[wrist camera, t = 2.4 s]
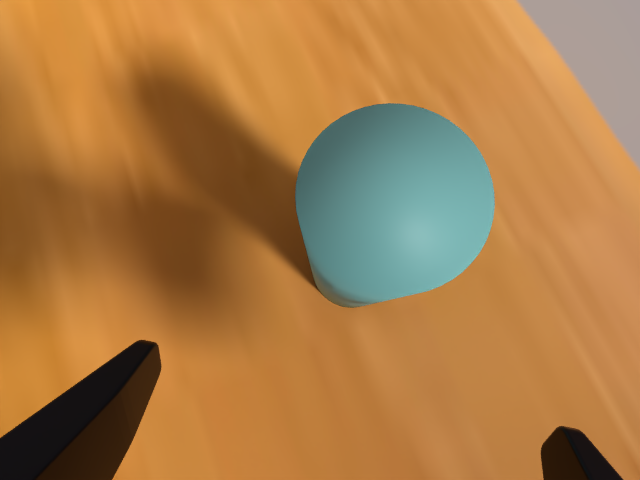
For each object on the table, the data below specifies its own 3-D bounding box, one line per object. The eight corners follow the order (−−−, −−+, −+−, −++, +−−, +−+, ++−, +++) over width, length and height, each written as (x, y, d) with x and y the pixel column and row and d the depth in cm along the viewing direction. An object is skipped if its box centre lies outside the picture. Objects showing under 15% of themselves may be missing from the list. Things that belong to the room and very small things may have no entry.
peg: (403, 288, 21) (531, 245, 8) (331, 320, 21) (345, 329, 8) (369, 218, 21) (438, 75, 9) (299, 248, 21) (265, 147, 8)
